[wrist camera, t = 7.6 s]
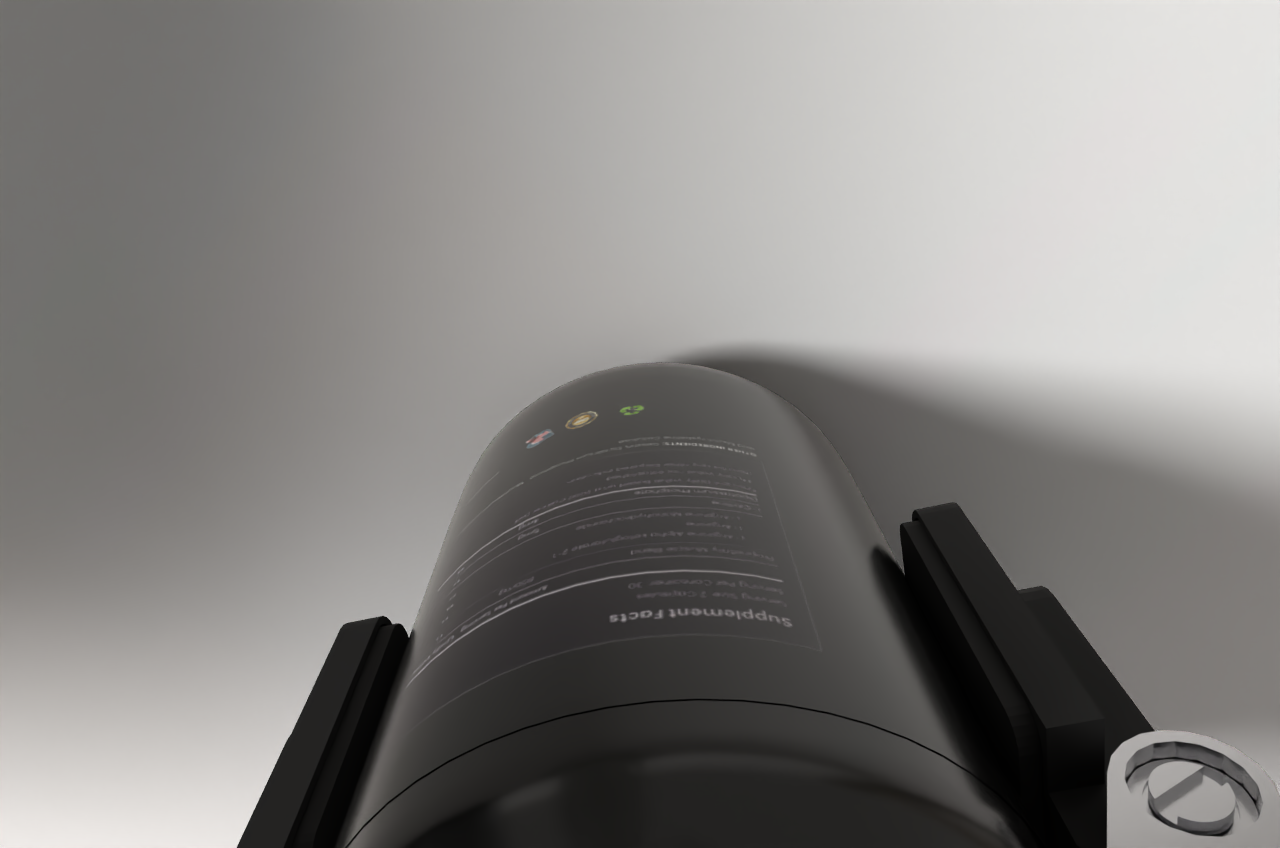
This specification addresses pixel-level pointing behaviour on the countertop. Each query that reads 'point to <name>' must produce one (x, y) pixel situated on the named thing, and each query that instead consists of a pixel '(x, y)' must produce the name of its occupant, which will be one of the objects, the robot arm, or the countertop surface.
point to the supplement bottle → (674, 647)
